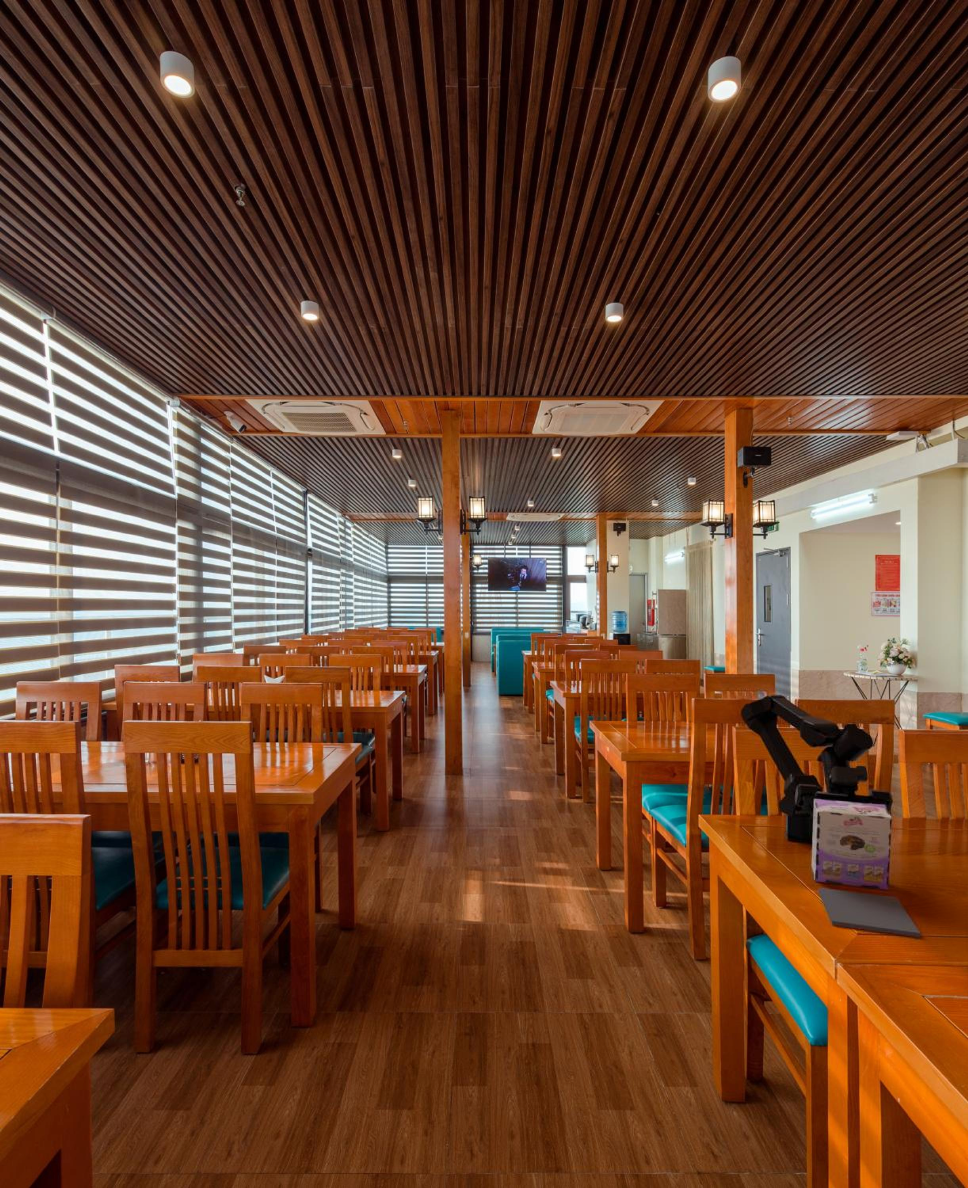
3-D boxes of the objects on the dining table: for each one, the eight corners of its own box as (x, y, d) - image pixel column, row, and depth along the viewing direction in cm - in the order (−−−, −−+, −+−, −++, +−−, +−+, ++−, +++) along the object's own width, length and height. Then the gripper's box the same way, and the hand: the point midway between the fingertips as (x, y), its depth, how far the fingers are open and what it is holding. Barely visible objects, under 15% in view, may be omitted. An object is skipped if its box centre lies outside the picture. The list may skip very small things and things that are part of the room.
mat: (832, 925, 122) (832, 920, 123) (818, 891, 137) (818, 887, 137) (920, 937, 118) (920, 933, 118) (896, 901, 133) (896, 897, 133)
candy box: (882, 874, 143) (886, 803, 140) (888, 891, 137) (893, 818, 134) (810, 865, 147) (813, 796, 144) (814, 881, 142) (817, 810, 138)
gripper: (796, 748, 152) (804, 811, 141) (890, 754, 146) (905, 820, 135) (791, 774, 159) (798, 836, 148) (880, 781, 154) (894, 846, 143)
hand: (848, 834), depth 144 cm, fingers open, 9 cm apart
